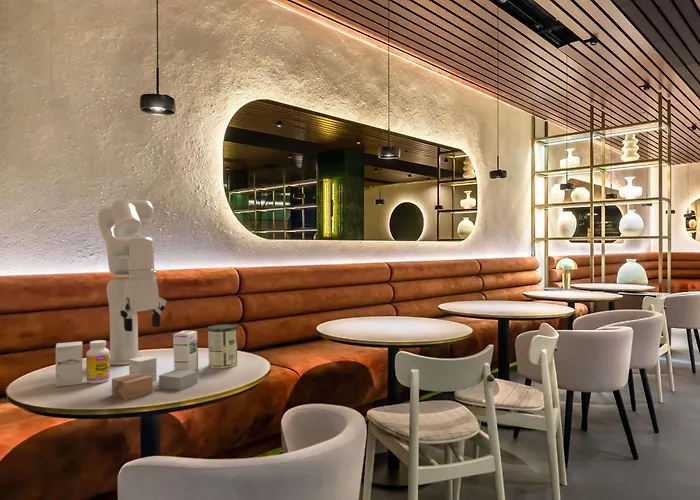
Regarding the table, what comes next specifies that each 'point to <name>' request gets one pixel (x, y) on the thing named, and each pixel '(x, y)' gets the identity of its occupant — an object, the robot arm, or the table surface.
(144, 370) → the product box
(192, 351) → the syrup box
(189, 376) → the grey block
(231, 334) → the coffee can
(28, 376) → the table surface
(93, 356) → the supplement bottle
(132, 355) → the robot arm
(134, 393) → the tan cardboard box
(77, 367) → the supplement box
